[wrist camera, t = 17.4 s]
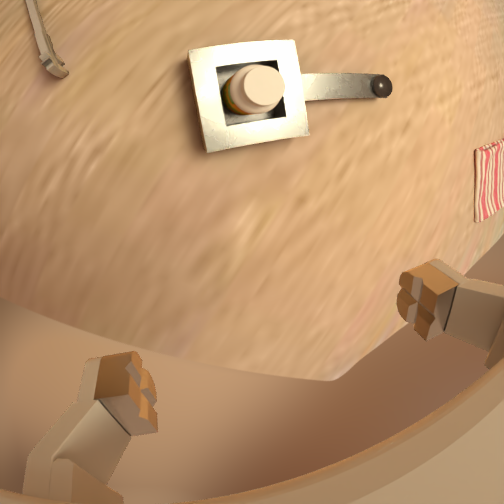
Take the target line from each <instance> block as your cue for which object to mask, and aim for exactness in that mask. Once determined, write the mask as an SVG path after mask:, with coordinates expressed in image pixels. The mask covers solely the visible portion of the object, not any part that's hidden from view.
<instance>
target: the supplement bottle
mask: <svg viewBox="0 0 504 504" xmlns="http://www.w3.org/2000/svg"><path fill="white" fill-rule="evenodd" d="M284 92H285V81H284V79H283V77H282V75H281V74H280V73H279V72H278V71H277V70H276V69H274V68H272V67H269V66H263V65H249V66H246V67H243V68H242V69H240V70H239V71H237V72H236V73H235V74H234V75H233V76H231V77H230V78H229V79H228V80H227V81H226V82H225V84H224V85H223V88H222V91H221V97H222V101H223V104H224V105H225V107H226V108H227V109H228V110H229V111H231V112H232V113H234V114H237V115H252V114H261V113H265V112H268V111H270V110H272V109H273V108H274V107H275V106H276V105H277V104H278V103H279V101H280V99H281V98H282V96H283V94H284Z"/></svg>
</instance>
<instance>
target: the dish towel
mask: <svg viewBox="0 0 504 504" xmlns="http://www.w3.org/2000/svg"><path fill="white" fill-rule="evenodd" d="M502 207H504V139H501V140H498V141H495V142H493V143H491V144H487V145H484V146H482V147H480V148H479V149H476V150H475V199H474V215H475V216H474V221H475V222H482V221H483V220H484V219H486V218H488V217H490V216H491V215H493V214H494V213H496V211H497V210H499V209H500V208H502Z"/></svg>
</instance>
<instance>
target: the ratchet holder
mask: <svg viewBox="0 0 504 504" xmlns="http://www.w3.org/2000/svg"><path fill="white" fill-rule="evenodd" d="M187 62H188V67H189V73H190V79H191V84H192V90H193V95H194V100H195V106H196V111H197V116H198V121H199V127H200V132H201V137H202V142H203V147H204V150H205V151H206V152H207V153H210V152H215V151H219V150H224V149H229V148H234V147H239V146H244V145H250V144H255V143H261V142H267V141H273V140H279V139H286V138H293V137H300V136H307V135H309V129H308V121H307V114H306V107H305V101H311V100H326V99H347V98H387V96H389V95H390V94H391V92H392V83H391V81H390V80H389V78H388V77H386V76H384V75H379V74H356V73H319V74H300V69H299V63H298V58H297V52H296V47H295V42H294V40H271V41H256V42H244V43H235V44H226V45H219V46H212V47H205V48H199V49H194V50H188V56H187ZM249 65H263V66H269V67H272V68H274V69H276V70H277V71H278V72H279V73H280V74H281V75H282V77H283V79H284V81H285V92H284V94H283V96H282V98H281V99H280V101H279V103H278V104H277V105H276V106H275V107H274V108H273V109H272V110H270V111H268V112H265V113H261V114H252V115H237V114H234V113H232V112H231V111H229V110H228V109H227V108H226V107H225V105H224V104H223V101H222V97H221V91H222V88H223V85H224V84H225V82H226V81H227V80H228V79H229V78H230V77H231V76H233V75H234V74H235V73H236V72H237V71H239V70H240V69H242V68H243V67H246V66H249Z"/></svg>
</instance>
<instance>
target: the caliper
mask: <svg viewBox="0 0 504 504" xmlns="http://www.w3.org/2000/svg"><path fill="white" fill-rule="evenodd" d="M26 4H27V7H28V11H29V14H30V18H31V21H32V25H33V28H34V31H35V34H34V35H35V38H36V41H37V44H38V47H39V50H40V53H41V55H40V56H39V58H40V59H41V60H42V61H43V62H42V63H41V64H42V65H44V66H45V67H46V69H47V71H49V72H50V73H52V74H53V75H54V76H57V77H60V78H64V77H65V76H66V75H68V74H69V72H68V71H67V70H66V69H65V68H63V67H62V66H63V65H65V63H64V61H63V60H62V59H61V58H60V57H59V56H58V55H57V54H56V53H55V52H54V50H53V45H52V42H51V40H50V37H49V35H47V33H46V30H45V27H44V24H43V21H42V18H41V15H40V12H39V9H38V6H37V3H36V0H26Z"/></svg>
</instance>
